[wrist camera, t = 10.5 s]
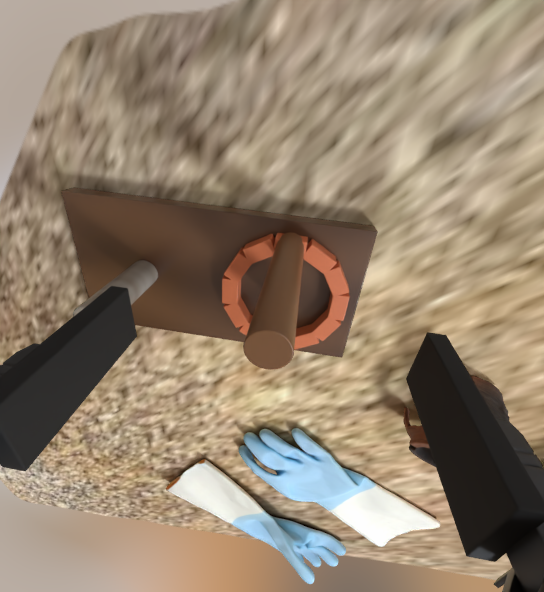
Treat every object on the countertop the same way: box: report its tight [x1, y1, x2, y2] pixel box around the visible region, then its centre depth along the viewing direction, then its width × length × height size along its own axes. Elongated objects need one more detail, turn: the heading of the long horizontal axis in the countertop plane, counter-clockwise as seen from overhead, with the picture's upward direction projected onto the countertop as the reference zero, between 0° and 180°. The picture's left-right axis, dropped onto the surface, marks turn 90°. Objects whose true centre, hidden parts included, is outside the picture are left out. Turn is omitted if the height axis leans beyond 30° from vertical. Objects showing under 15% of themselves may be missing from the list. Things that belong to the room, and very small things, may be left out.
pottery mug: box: [403, 376, 509, 467], centre depth 30 cm, size 12×9×8 cm
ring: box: [222, 232, 350, 369], centre depth 21 cm, size 11×11×14 cm
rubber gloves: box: [166, 428, 440, 584], centre depth 44 cm, size 27×33×6 cm
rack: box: [61, 188, 377, 357], centre depth 24 cm, size 13×26×10 cm, turn 85°
